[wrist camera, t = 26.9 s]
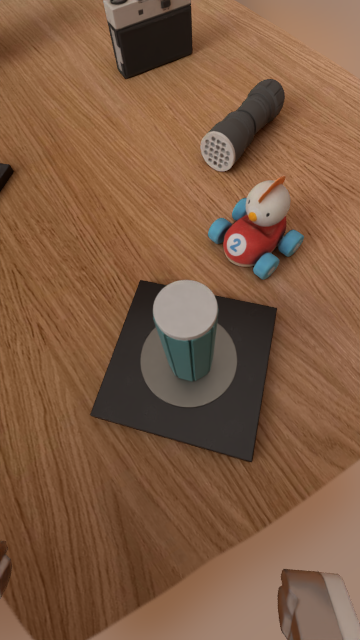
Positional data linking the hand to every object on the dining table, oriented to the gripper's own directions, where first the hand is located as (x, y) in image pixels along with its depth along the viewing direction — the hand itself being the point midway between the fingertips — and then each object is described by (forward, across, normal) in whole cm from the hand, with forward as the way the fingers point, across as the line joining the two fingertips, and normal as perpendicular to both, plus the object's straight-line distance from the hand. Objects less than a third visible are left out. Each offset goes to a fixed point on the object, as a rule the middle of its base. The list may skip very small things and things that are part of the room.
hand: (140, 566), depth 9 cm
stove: (+24, 0, +6) cm, 25 cm away
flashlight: (+48, -6, -20) cm, 53 cm away
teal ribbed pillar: (+23, 0, +4) cm, 23 cm away
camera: (+65, +10, -37) cm, 76 cm away
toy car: (+35, -7, -6) cm, 36 cm away
